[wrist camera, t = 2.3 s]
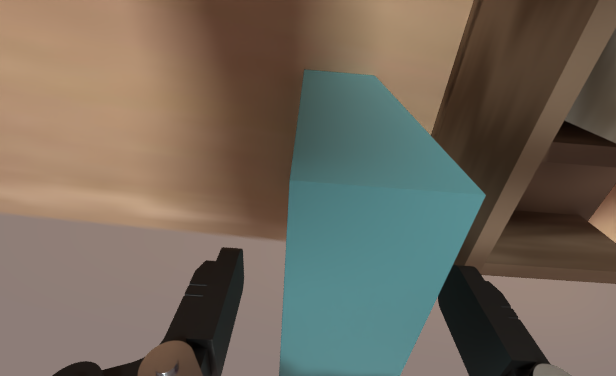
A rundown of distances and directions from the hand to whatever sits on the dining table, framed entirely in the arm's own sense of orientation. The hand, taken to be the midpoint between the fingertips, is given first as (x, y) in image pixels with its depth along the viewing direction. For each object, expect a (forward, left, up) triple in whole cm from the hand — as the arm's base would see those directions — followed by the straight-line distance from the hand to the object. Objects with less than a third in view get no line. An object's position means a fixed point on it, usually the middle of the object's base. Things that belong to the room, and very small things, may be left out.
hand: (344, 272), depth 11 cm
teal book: (0, 0, -12) cm, 12 cm away
